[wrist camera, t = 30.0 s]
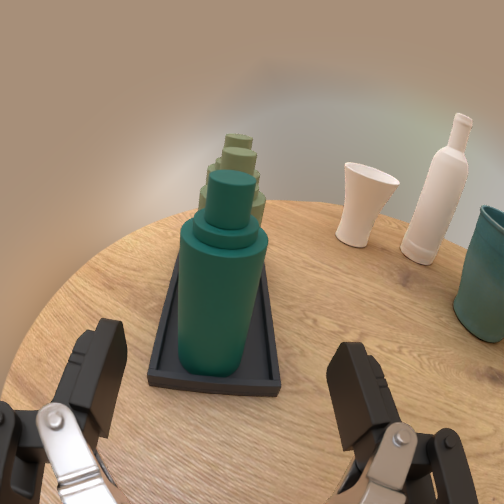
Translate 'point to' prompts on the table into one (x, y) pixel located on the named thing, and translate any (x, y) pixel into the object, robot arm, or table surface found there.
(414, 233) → the bottle
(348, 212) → the cup
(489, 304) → the flower pot
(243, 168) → the green bottle
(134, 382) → the table surface
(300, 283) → the table surface
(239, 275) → the teal bottle
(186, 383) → the tray
